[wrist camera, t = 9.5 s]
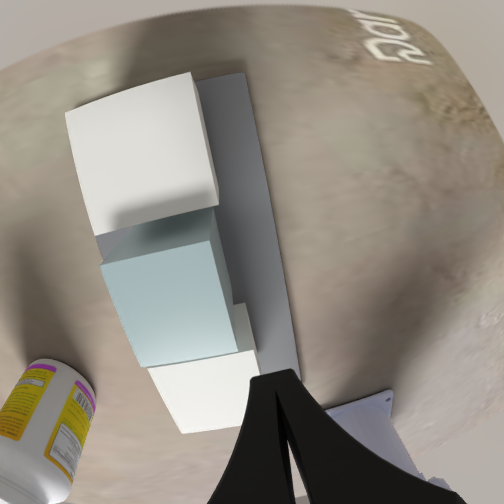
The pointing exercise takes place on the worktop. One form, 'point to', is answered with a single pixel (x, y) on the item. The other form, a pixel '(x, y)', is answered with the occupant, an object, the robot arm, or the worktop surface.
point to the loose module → (173, 289)
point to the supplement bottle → (43, 433)
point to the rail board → (242, 220)
